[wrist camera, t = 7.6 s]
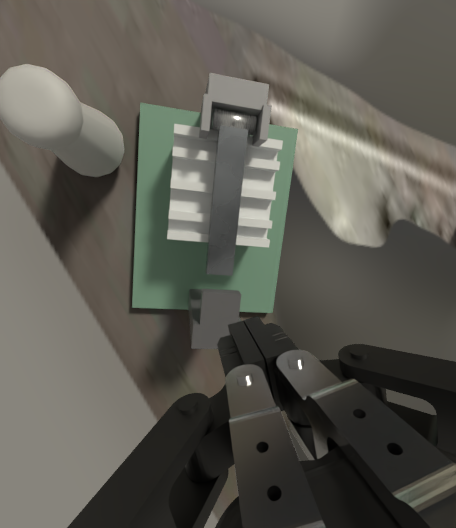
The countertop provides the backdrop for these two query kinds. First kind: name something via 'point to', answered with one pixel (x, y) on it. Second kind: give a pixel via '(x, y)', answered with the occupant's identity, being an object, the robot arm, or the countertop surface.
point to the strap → (227, 188)
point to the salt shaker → (58, 121)
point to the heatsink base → (190, 256)
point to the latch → (211, 315)
